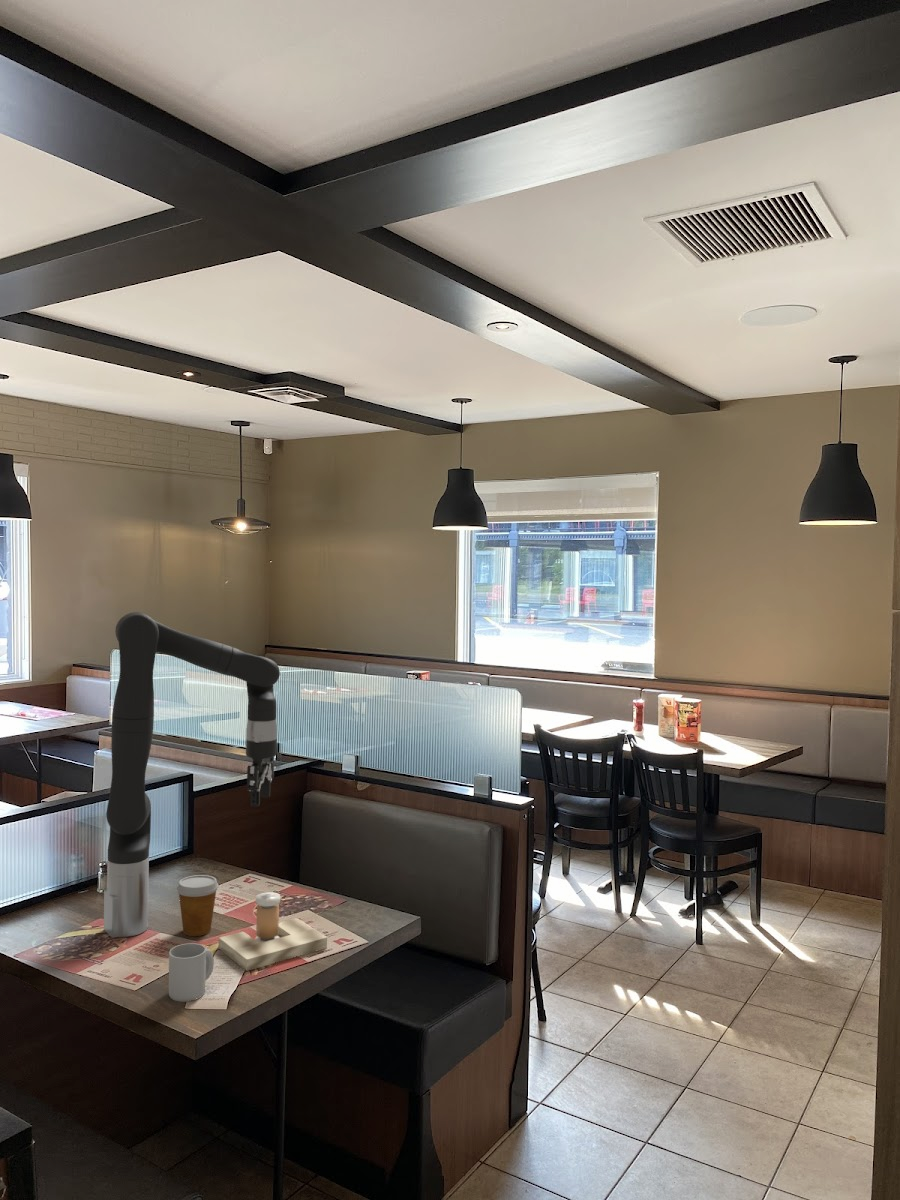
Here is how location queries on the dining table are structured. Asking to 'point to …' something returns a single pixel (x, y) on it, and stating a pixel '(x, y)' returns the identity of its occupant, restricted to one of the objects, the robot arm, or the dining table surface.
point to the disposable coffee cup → (197, 903)
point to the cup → (189, 971)
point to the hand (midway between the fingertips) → (260, 801)
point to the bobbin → (267, 916)
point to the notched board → (273, 945)
